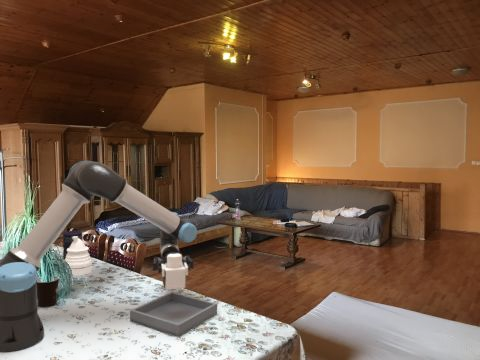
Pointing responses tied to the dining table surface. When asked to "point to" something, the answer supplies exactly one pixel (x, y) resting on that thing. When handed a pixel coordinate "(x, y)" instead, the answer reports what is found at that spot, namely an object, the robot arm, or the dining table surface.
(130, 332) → the dining table surface
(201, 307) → the box
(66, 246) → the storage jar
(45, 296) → the brown plant pot
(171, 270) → the medicine bottle
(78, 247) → the honey pot
